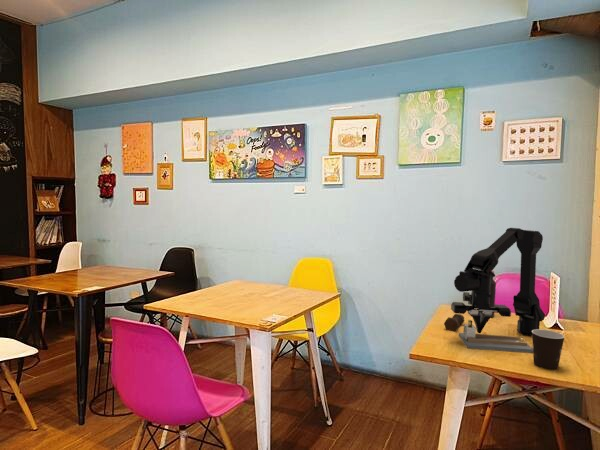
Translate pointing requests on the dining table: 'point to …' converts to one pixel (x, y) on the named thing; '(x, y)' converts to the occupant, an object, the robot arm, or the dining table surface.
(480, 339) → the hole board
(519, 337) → the fixed brass pin
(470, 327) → the sliding pin block
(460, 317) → the bolt
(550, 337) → the coffee mug
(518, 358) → the dining table surface
